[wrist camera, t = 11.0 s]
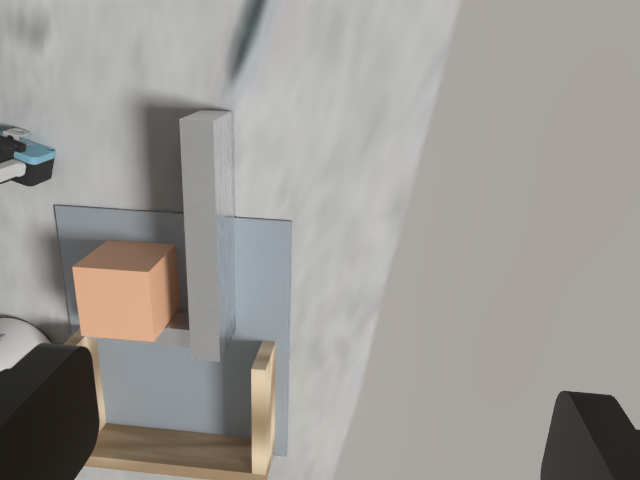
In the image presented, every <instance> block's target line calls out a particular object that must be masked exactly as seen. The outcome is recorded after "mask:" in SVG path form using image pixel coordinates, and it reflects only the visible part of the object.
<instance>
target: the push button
mask: <svg viewBox="0 0 640 480" xmlns="http://www.w3.org/2000/svg"><path fill="white" fill-rule="evenodd" d="M17 131H21V132H23V133H20V132H17ZM30 134H31V133H30V132H28V131H26V130H23V129H20V128H12V129H8V130H6V131H2V130H0V184H2V183H5V182H8V181H10V180H12V181H15V182H17V183H20V184H23V185H26V186H34V185H37V184H39V183H41V182H44V181H46V180H48V179H51V175H52V169H53V163H54V157H55V151H56V150H55V149H53V148H50V147H46V146H43V145H41V144H38V143H35V142H32V141H29V140H27V139H24V138H21V137H22V136H26V135H30ZM20 136H21V137H20Z"/></svg>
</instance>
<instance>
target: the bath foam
mask: <svg viewBox="0 0 640 480" xmlns="http://www.w3.org/2000/svg"><path fill="white" fill-rule="evenodd" d="M40 343H50V341H49V340H48V339H47V337H46V336H45V335H44V334H43V333H42V332H41V331H39V330H38V329H37V328H35V327H34V326H32V325H31V324H29V323H27V322H24V321H21V320H18V319H13V318H0V371H2V370H4V369H11V368H12V367H13V366H14V365H15V364H16V363H18V362H19V361H20V360H21V359H22V358H23V357H24V356H25V355H26V354H28V353H29V352H30V351H31V350H32V349H33V348H34V347H36V346H37V345H38V344H40Z"/></svg>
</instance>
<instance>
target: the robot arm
mask: <svg viewBox="0 0 640 480" xmlns="http://www.w3.org/2000/svg"><path fill="white" fill-rule="evenodd" d="M99 424H100V420H99V410H98V402H97V394H96V386H95V377H94V369H93V361H92V356H91V353H90V351H89V349H88V348H87V347H84V346H75V345H64V344H52V343H40V344H38V345H37V346H36V347H34V348H33V349H32V350H31V351H30V352H29V353H28V354H26V355H25V356H24V357H23V358H22V359H21V360H20V361H19V362H18V363H16V364H15V365H14V366H13V367H12V368H11V369H4V370H2V371H0V480H74V479H75V478H76V476H77V475H78V473H79V472H80V470H81V469H82V468H83V466H84V465H85V463H86V462H87V460H88V459H89V457H90V456H91V454H92V452H93V450H94V447H95V445H96V442H97V438H98V433H99ZM541 480H640V430H636V429H635V428H634V426H633V425H632V423H631V422H630V420H629V418H628V417H627V415H626V414H625V412H624V411H623V409H622V408H621V406H620V404H619V403H618V401H617V400H616V399H615V398H614V397H613V396H611V395H604V394H593V393H582V392H570V391H562V392H560V393H559V395H558V397H557V399H556V402H555V406H554V411H553V415H552V420H551V425H550V429H549V434H548V438H547V443H546V448H545V452H544V457H543V461H542V466H541Z"/></svg>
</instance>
